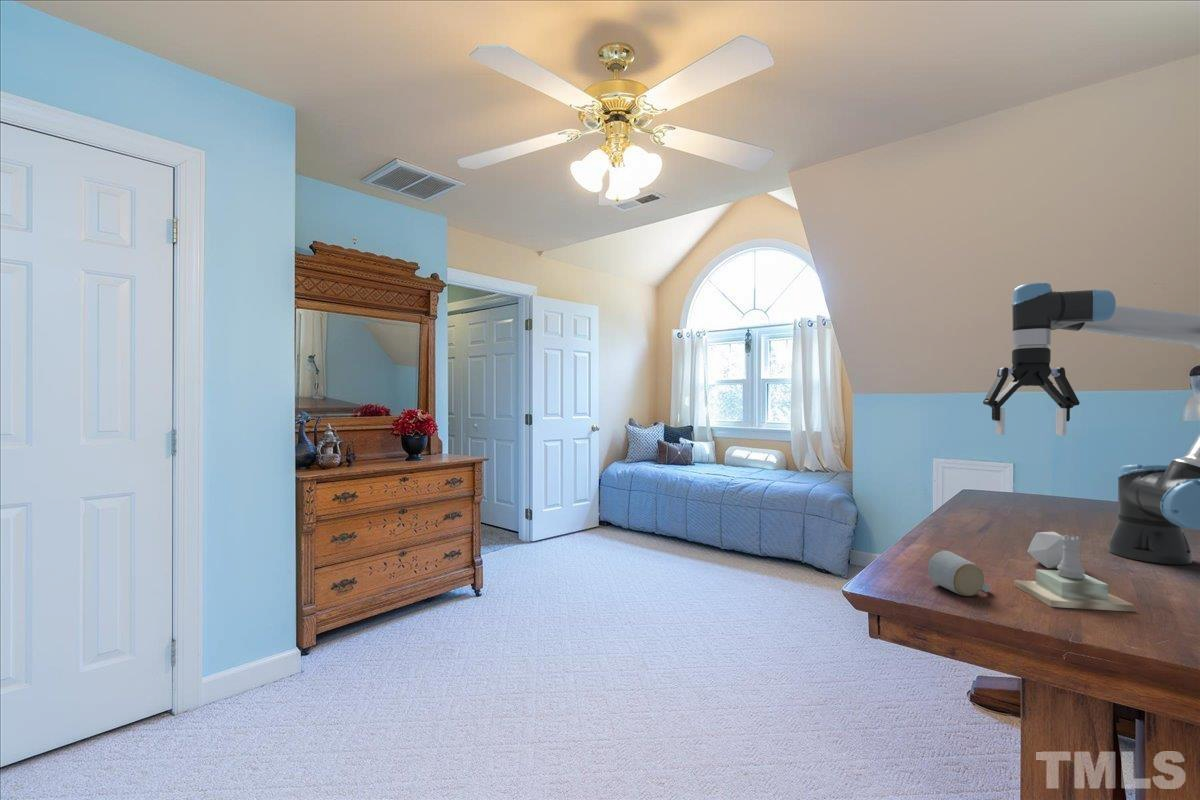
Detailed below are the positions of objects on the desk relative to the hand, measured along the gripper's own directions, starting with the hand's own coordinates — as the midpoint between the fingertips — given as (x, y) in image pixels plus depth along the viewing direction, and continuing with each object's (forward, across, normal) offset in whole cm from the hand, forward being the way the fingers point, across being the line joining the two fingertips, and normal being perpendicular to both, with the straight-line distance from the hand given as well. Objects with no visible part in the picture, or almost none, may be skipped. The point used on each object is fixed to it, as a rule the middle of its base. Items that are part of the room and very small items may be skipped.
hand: (1030, 434), depth 138 cm
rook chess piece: (+27, +8, +28) cm, 39 cm away
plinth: (+31, +8, +28) cm, 42 cm away
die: (+31, -2, +5) cm, 31 cm away
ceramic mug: (+31, +28, +27) cm, 49 cm away
